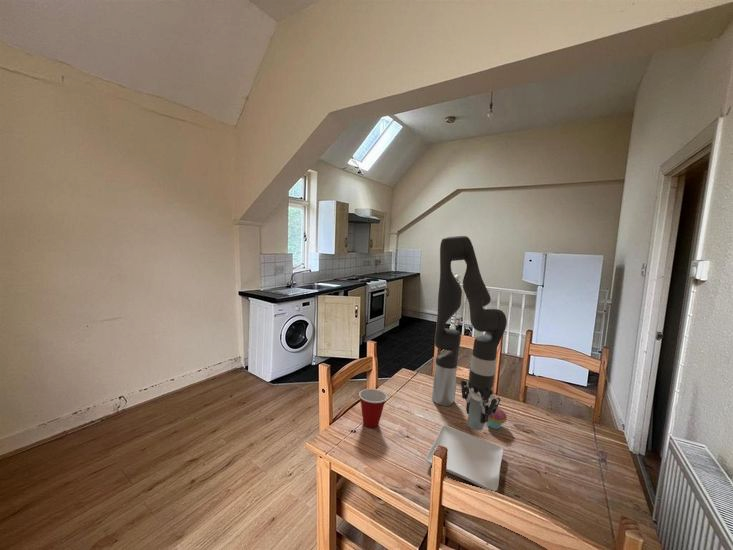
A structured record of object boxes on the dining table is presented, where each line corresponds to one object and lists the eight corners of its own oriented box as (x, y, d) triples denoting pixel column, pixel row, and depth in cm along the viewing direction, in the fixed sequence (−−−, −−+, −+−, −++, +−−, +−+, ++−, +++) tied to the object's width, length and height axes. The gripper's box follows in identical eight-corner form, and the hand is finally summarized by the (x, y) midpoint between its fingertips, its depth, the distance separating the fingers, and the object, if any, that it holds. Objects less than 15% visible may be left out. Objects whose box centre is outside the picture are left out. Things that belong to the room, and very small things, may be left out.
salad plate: (496, 501, 83) (497, 490, 82) (423, 468, 93) (424, 458, 92) (502, 455, 101) (504, 446, 101) (441, 432, 111) (442, 423, 111)
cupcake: (481, 427, 115) (485, 399, 113) (482, 416, 123) (485, 389, 121) (505, 434, 112) (510, 405, 110) (504, 422, 119) (508, 394, 118)
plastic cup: (387, 418, 117) (389, 390, 115) (381, 435, 106) (384, 404, 105) (361, 412, 119) (363, 384, 118) (353, 428, 109) (355, 398, 108)
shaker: (474, 418, 101) (478, 387, 99) (487, 427, 97) (491, 394, 95) (463, 422, 98) (467, 390, 97) (476, 432, 94) (480, 398, 92)
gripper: (509, 377, 91) (502, 427, 93) (472, 358, 103) (466, 403, 105) (494, 382, 87) (487, 434, 89) (457, 362, 99) (451, 409, 101)
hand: (476, 417), depth 97 cm, fingers closed on shaker, 5 cm apart
